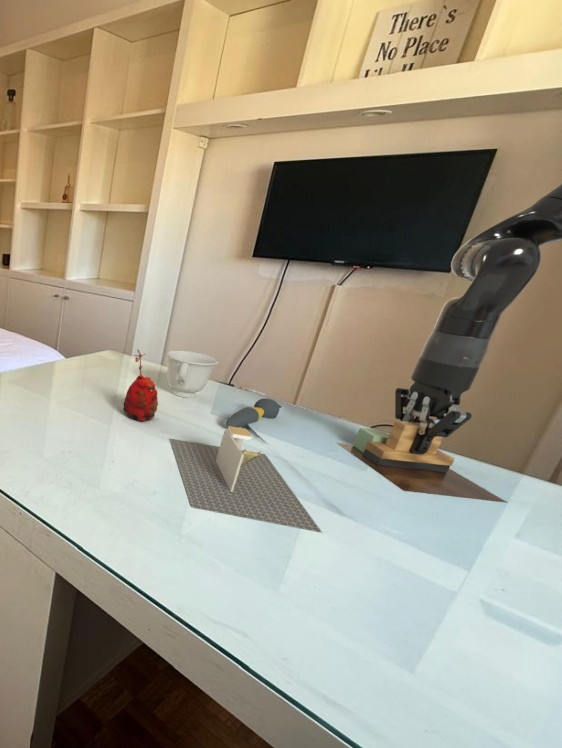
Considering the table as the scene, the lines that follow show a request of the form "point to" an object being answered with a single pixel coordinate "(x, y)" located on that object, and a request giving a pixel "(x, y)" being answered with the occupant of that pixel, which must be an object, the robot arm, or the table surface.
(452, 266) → the robot arm
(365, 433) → the sage cube
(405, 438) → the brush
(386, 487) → the table surface
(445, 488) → the brown flat mat
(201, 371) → the teacup
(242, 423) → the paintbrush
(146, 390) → the red clay folk toy
